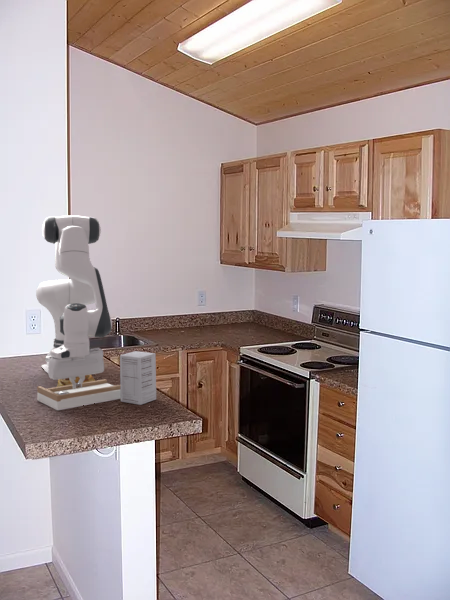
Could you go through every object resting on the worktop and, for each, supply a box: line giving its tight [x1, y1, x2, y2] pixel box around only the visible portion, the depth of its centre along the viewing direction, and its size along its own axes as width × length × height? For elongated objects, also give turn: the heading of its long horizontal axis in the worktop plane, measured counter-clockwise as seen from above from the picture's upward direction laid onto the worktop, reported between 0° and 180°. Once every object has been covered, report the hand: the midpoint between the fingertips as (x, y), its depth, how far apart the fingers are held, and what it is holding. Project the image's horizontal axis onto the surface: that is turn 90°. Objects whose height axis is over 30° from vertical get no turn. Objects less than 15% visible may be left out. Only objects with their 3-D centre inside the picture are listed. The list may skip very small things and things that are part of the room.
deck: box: [36, 378, 121, 411], centre depth 226 cm, size 16×26×5 cm, turn 130°
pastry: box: [56, 374, 96, 387], centre depth 242 cm, size 13×15×8 cm
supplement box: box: [119, 350, 157, 406], centre depth 224 cm, size 10×9×17 cm
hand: (77, 388), depth 225 cm, fingers closed
